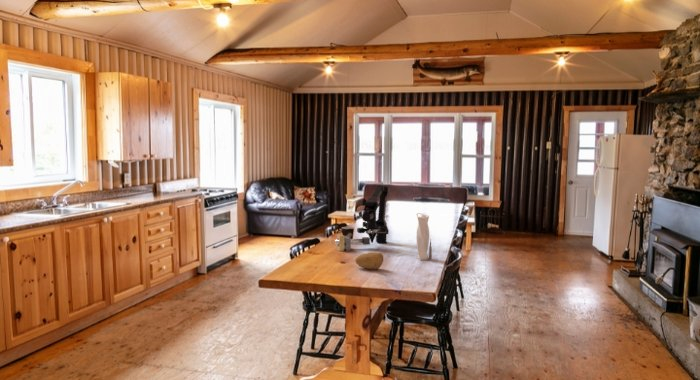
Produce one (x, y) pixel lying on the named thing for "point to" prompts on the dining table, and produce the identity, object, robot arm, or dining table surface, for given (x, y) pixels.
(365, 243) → the shaft
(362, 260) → the potato
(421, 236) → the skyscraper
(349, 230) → the coffee mug
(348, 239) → the pillow block
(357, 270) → the dining table surface
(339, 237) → the spacer
